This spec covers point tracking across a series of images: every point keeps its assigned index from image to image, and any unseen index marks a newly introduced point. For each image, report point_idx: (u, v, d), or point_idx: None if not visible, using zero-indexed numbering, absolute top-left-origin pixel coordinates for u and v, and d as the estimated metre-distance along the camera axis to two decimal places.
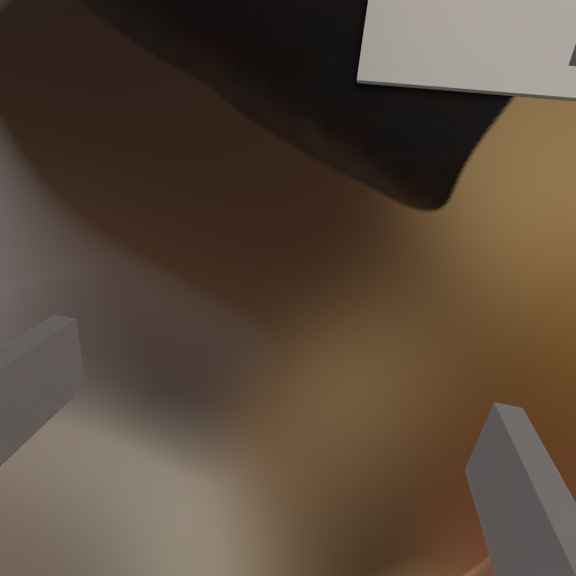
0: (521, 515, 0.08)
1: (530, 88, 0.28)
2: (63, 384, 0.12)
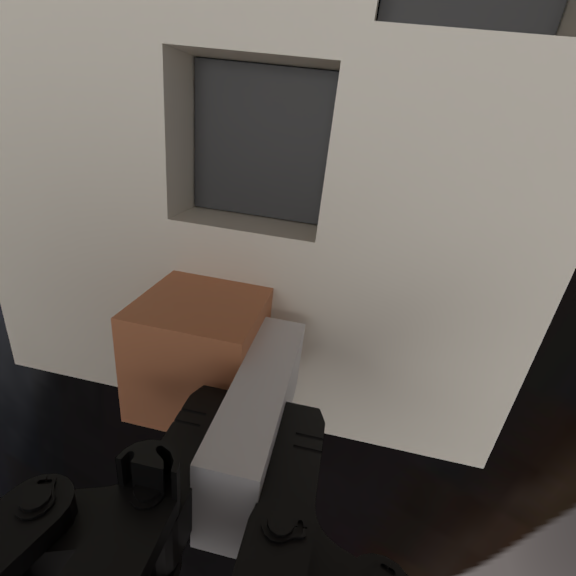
0: None
1: None
2: None
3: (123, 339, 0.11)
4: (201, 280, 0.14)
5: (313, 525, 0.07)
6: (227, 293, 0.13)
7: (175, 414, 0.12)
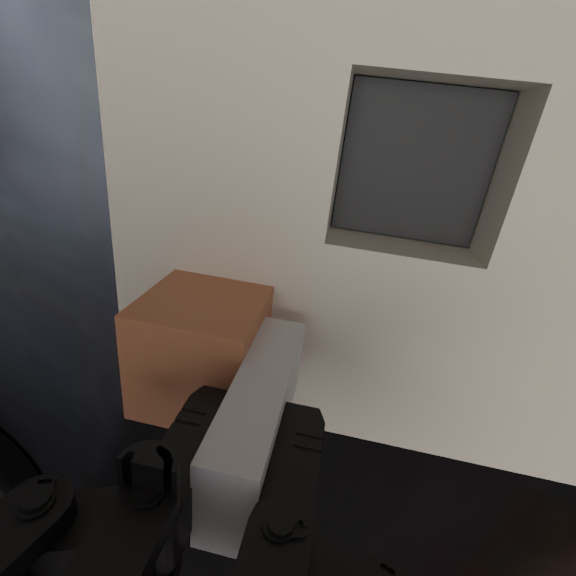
0: None
1: None
2: None
3: (126, 337, 0.11)
4: (203, 279, 0.14)
5: (313, 525, 0.07)
6: (228, 291, 0.13)
7: (178, 411, 0.12)
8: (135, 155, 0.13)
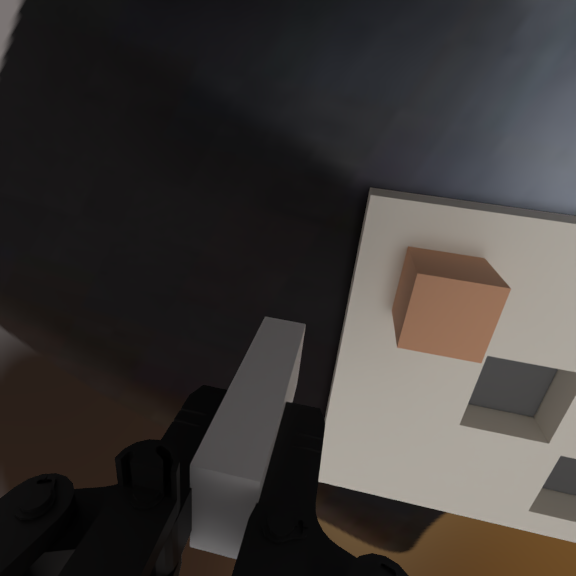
0: None
1: (490, 518, 0.27)
2: None
3: (492, 293, 0.17)
4: None
5: (313, 525, 0.07)
6: None
7: (425, 315, 0.17)
8: None
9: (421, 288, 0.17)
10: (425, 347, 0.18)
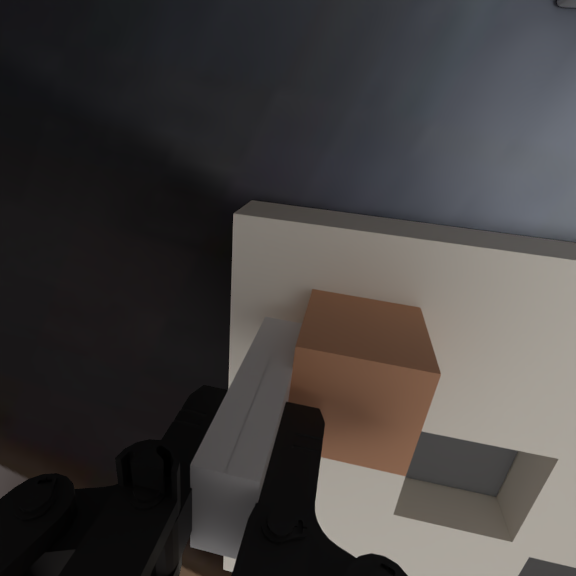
0: None
1: None
2: None
3: (413, 380, 0.10)
4: None
5: (313, 525, 0.07)
6: None
7: (316, 406, 0.11)
8: (532, 290, 0.13)
9: (304, 368, 0.11)
10: None
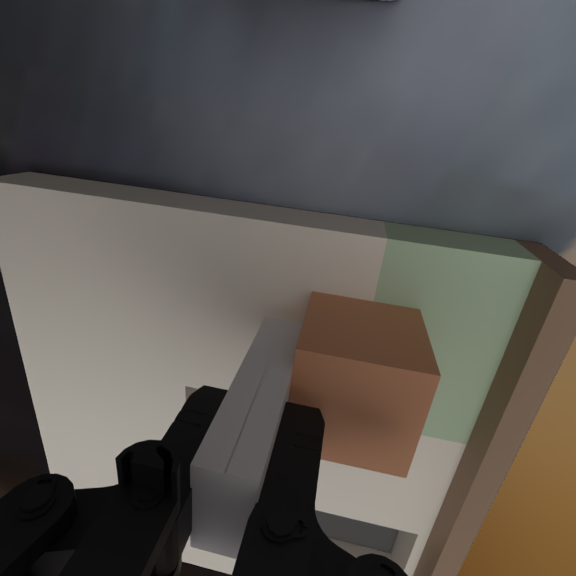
0: None
1: None
2: None
3: (413, 382, 0.10)
4: None
5: (313, 525, 0.07)
6: None
7: None
8: (234, 248, 0.14)
9: (304, 371, 0.11)
10: (322, 453, 0.12)
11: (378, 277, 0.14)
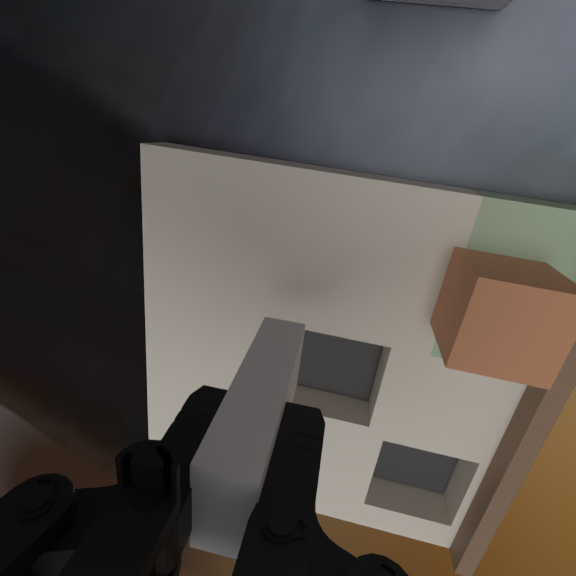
0: None
1: (328, 512, 0.25)
2: None
3: (572, 304, 0.13)
4: None
5: (313, 525, 0.07)
6: None
7: (485, 328, 0.14)
8: (353, 204, 0.17)
9: (482, 295, 0.14)
10: (480, 368, 0.15)
11: (471, 229, 0.17)
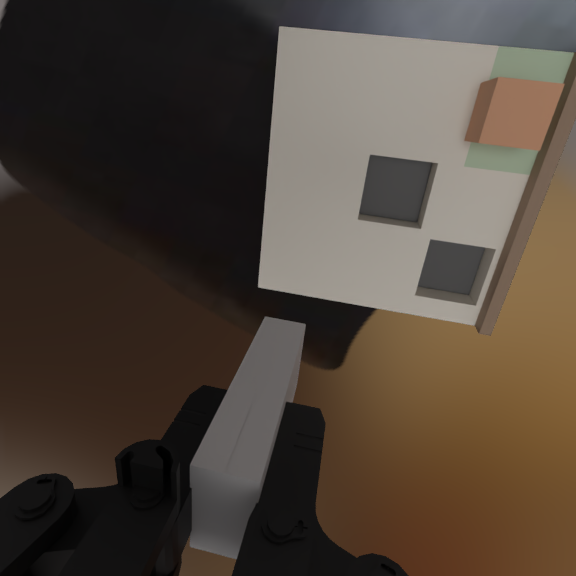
0: None
1: (389, 307, 0.36)
2: None
3: (551, 88, 0.24)
4: None
5: (313, 525, 0.07)
6: None
7: (502, 112, 0.25)
8: (417, 58, 0.28)
9: (500, 89, 0.24)
10: (499, 141, 0.25)
11: (491, 70, 0.27)
